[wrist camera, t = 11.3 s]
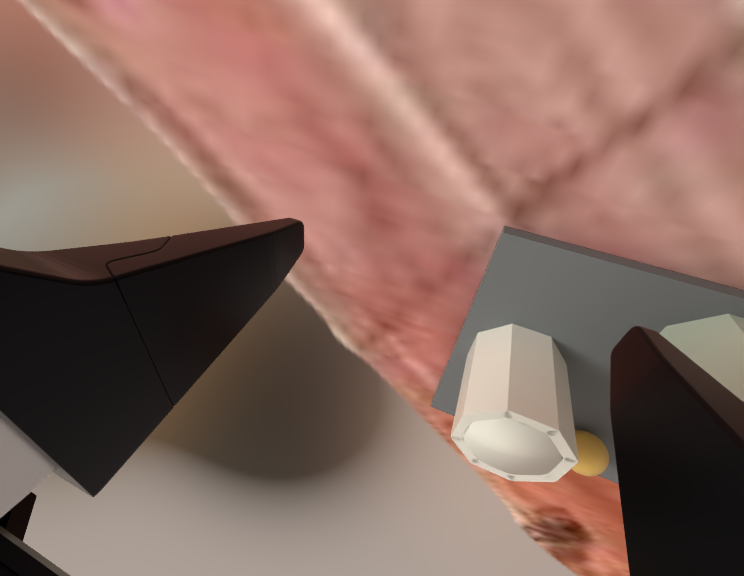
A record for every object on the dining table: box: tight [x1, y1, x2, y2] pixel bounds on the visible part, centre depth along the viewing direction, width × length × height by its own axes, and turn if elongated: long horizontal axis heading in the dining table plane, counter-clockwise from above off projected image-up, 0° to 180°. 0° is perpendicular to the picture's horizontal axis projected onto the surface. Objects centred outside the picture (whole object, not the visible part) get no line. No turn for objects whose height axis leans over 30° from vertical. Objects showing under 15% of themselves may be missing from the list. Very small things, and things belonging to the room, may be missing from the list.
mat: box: [431, 226, 744, 484], centre depth 22 cm, size 22×18×1 cm
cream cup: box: [451, 324, 579, 482], centre depth 21 cm, size 6×6×7 cm
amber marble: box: [571, 430, 609, 476], centre depth 24 cm, size 3×3×3 cm
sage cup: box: [659, 314, 744, 402], centre depth 15 cm, size 6×6×7 cm
